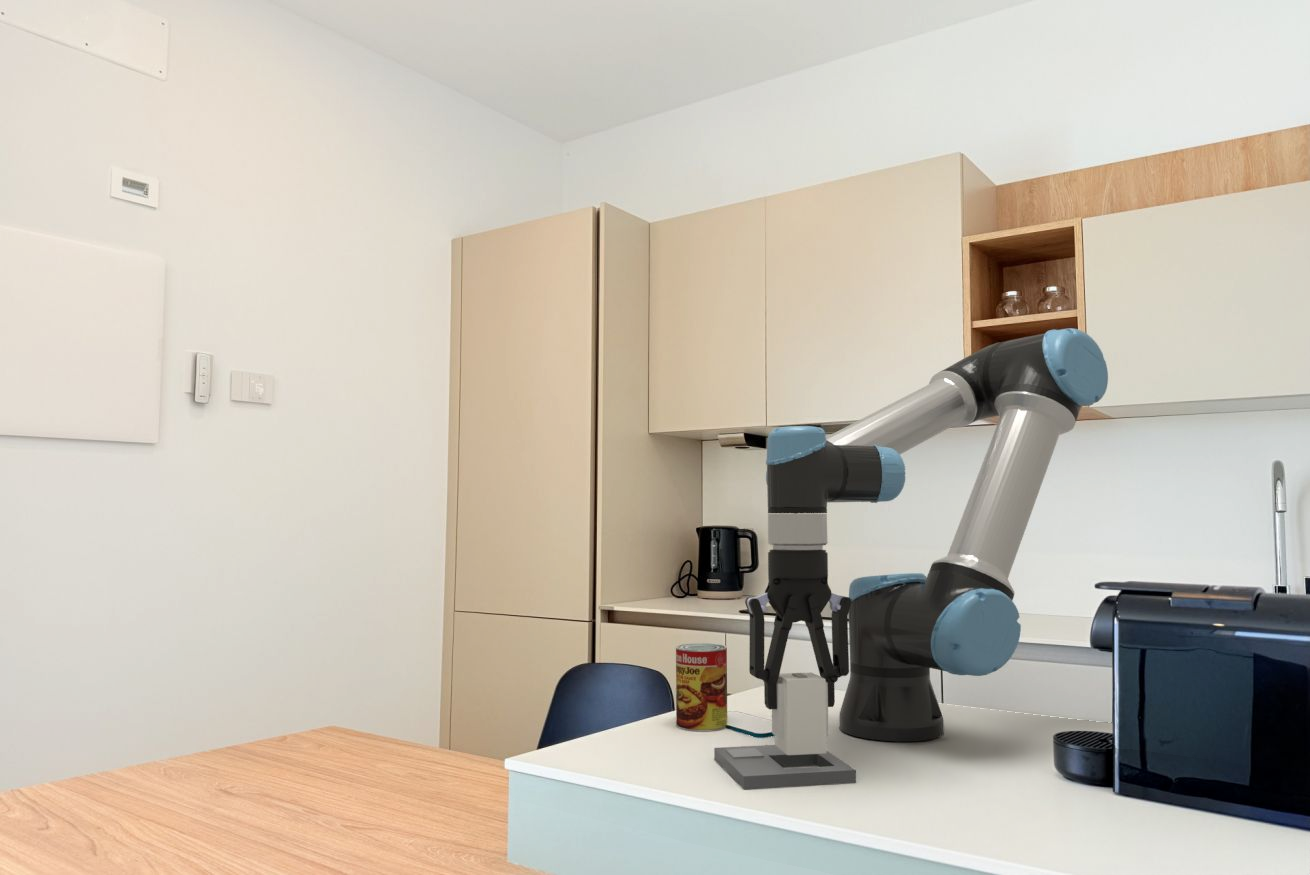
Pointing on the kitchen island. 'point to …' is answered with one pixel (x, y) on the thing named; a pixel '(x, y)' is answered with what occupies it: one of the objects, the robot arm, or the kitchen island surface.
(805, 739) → the block
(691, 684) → the canned food
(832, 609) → the robot arm
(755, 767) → the grey square base plate
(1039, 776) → the kitchen island surface
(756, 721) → the smartphone
